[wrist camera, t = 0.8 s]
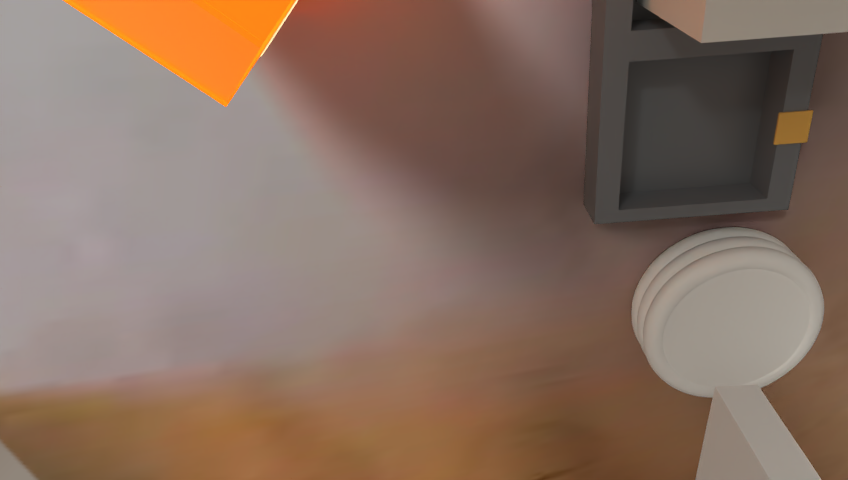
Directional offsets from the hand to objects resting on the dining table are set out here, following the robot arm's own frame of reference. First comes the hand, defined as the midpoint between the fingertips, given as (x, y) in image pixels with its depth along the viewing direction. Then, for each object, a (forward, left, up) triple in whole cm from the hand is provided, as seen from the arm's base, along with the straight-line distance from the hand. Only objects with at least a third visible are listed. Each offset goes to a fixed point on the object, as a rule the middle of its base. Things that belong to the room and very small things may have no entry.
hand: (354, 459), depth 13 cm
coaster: (+15, +18, -26) cm, 35 cm away
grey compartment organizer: (-1, +15, -25) cm, 29 cm away
